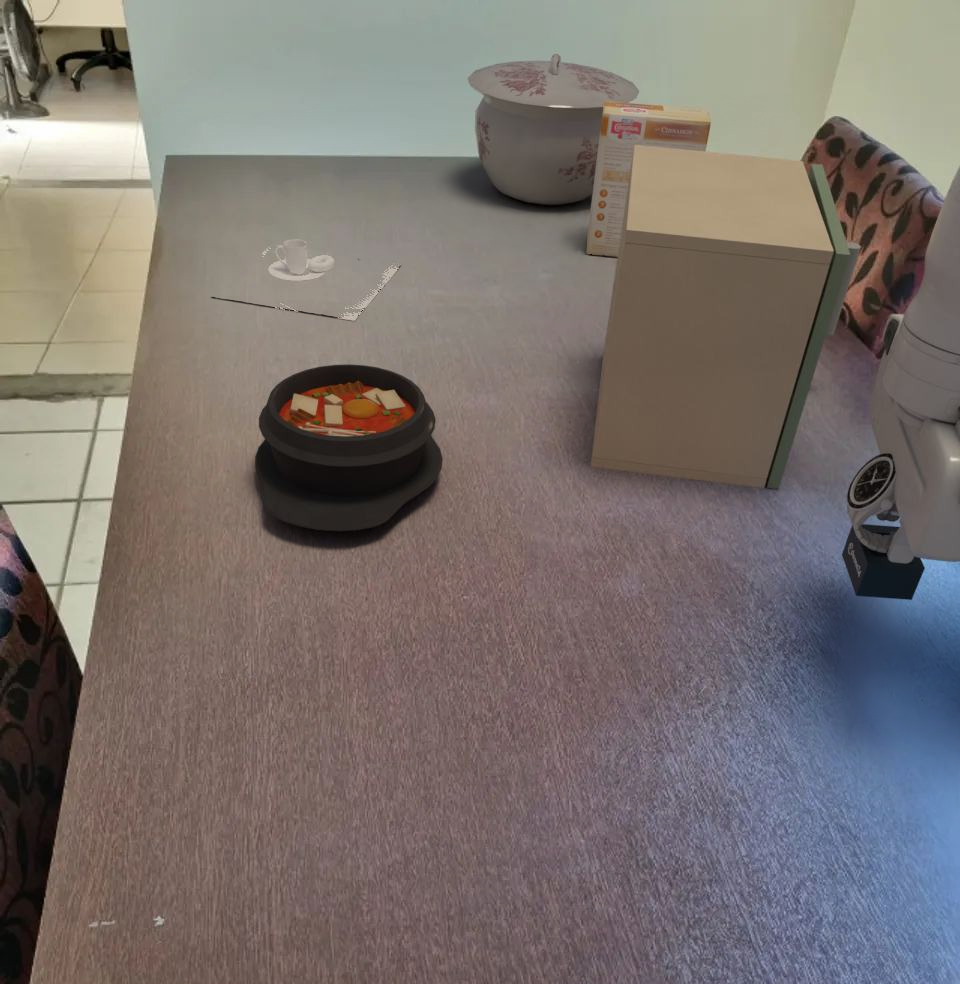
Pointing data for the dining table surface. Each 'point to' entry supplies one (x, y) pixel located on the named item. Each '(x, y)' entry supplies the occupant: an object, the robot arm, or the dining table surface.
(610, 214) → the coffeecake box
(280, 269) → the teacup and saucer
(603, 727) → the dining table surface
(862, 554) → the watch
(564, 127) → the chamber pot
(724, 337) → the cupboard
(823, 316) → the cupboard door
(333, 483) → the casserole
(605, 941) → the dining table surface
